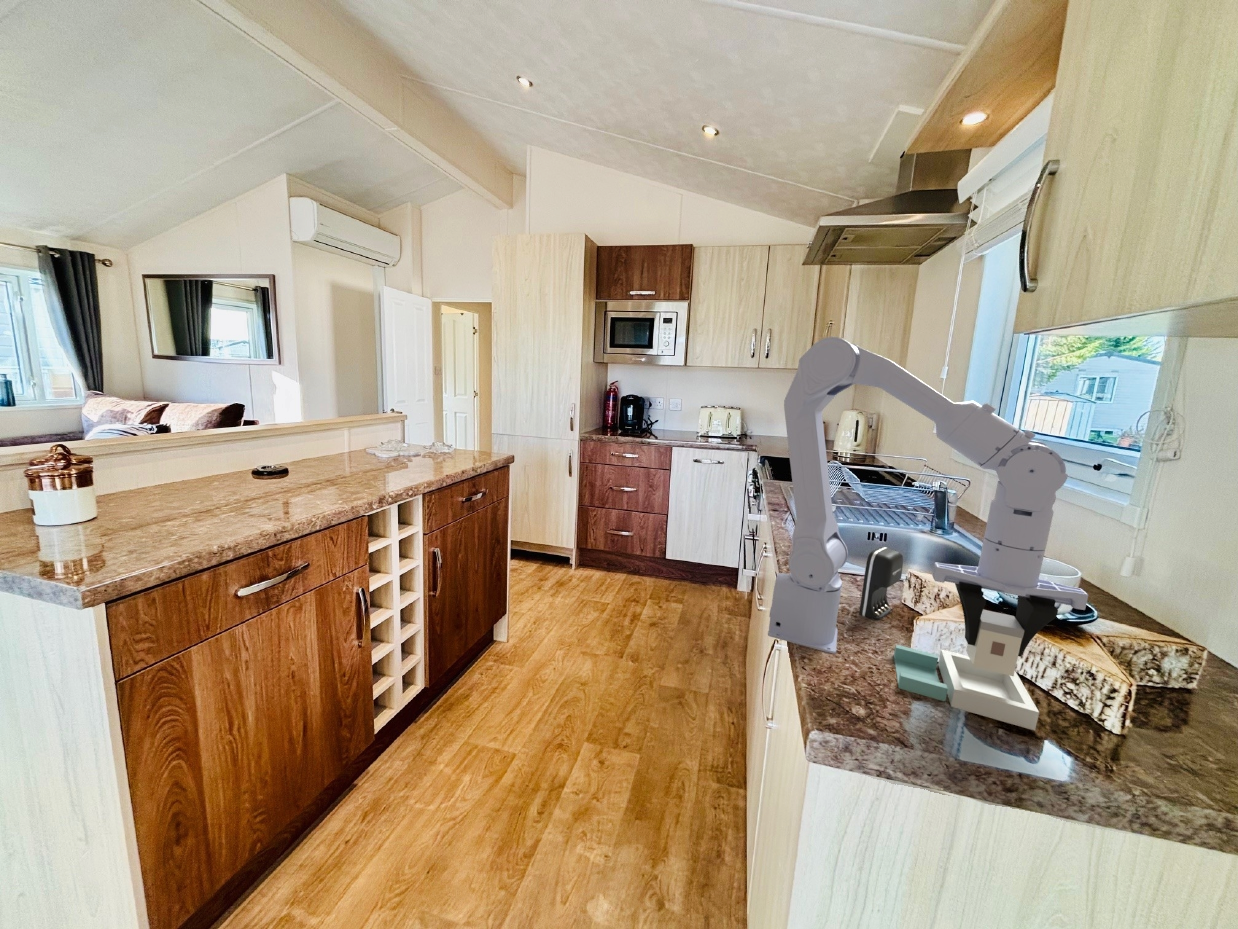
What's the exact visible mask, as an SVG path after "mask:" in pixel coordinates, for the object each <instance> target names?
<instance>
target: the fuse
mask: <svg viewBox="0 0 1238 929" xmlns="http://www.w3.org/2000/svg"><path fill="white" fill-rule="evenodd" d="M1023 635H1024V629H1023V628H1022V627H1021V625H1020V624H1019V622H1018V621H1017V620H1016V616H1014V615H1010V614H1006V613H1002V612H1001V613H1000V612H996V611H992V610H987V609H983V611H982V614H981V618H980V621H979V626H978V634H977V639H976V643H975V646H973V645H969V644H968V643H966V644H967V645H966V653H967V656H969V658H970V660H971V663H972V665H973V666H974V667H978V668H982V669H986V670H990V671H994V672H998V673H1002V674H1006V675H1010V676H1014V672H1015V671H1016V667H1017V662H1018V658H1019V656H1018V654H1019V650H1020V645H1021V641H1022V638H1023Z"/></svg>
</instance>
